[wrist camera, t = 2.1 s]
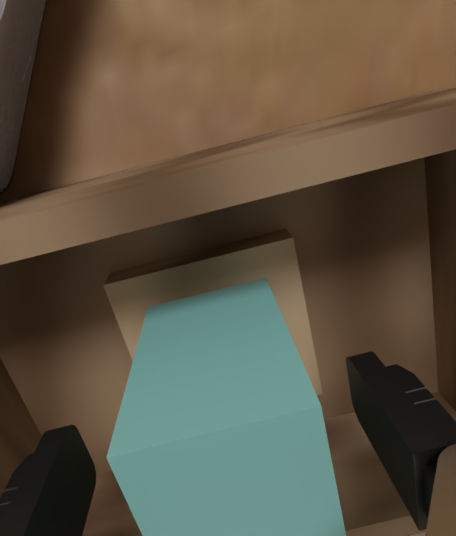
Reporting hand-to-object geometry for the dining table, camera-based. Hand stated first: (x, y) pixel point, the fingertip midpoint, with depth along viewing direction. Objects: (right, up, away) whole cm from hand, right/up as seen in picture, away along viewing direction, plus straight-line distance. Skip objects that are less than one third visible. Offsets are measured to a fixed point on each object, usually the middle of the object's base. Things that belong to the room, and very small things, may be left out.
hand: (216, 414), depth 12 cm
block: (0, +1, +4) cm, 4 cm away
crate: (0, +2, +6) cm, 6 cm away
